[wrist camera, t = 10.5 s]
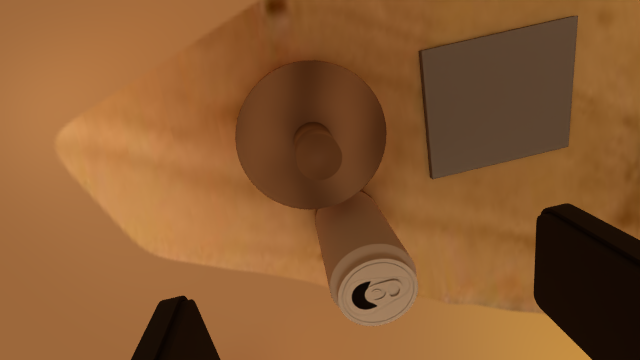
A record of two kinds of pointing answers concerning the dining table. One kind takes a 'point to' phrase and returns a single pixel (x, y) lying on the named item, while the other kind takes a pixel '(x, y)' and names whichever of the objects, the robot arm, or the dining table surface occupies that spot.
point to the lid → (310, 134)
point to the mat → (498, 96)
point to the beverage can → (365, 262)
